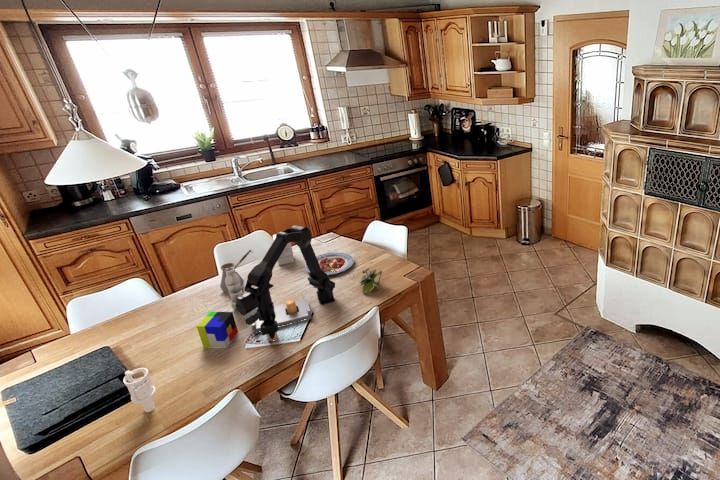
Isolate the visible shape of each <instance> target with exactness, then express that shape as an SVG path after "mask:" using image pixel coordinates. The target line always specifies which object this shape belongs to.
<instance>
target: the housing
mask: <svg viewBox="0 0 720 480" xmlns="http://www.w3.org/2000/svg"><path fill="white" fill-rule="evenodd" d="M301 298H302V299H299V300H294V301H295V303H296V308H297V313H294V314H290V315H288V314H287V313H288V312H287V307H286V302H285V303H282V304H278V305H274V309H275V310H274V312H275V315H276V316H275V321H277V324H278V326H282V325H286V326H288V325H287V324H290V323H294V322H297V323H299V322H298V321H301V320H304V319H309V320H312V319H313V317H312V312H311V309H310V306H309V303H308V300H307V297H306V295H305V294H303V295H302V297H301ZM301 322H302V321H301ZM262 323H264V321H263V320H262V321H259V319H258V320H257V321H256V322H255V323H253V324H251V328H252V330H253V331H252V332H253V334H254V333H255V334H257V333H256V332H259V331H261V327H260V325H261V324H262ZM294 324H295V323H294ZM290 325H291V324H290ZM282 327H283V326H282ZM259 333H260V332H259Z"/></svg>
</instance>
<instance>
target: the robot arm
mask: <svg viewBox="0 0 720 480" xmlns="http://www.w3.org/2000/svg"><path fill="white" fill-rule="evenodd" d="M276 234H277V235H276V238H275V240H274V241H273V242H272V243H271V245H270V247H269V248H268V250H267V252H266V253H265V254H264V257H263V258H262V260H261V261H260V262H259V263H258V264H256V265H255V266H253V268H252V269H251V270H250V272H249V273H248V275H247V279H246V284H245V287H244V289H243V291H244V292H245V293H244V294H243V295H242V296H240V297H238V298H237V302H236V305H235V306H236V309H237V310H236V311H237V312H238V313H239V314H240V315H241V316H243V320H244V322H245V324H246V325H248V326H252V324H253V323H255V322H256V321H257V320H258V319H259V321H262V320H263V321H264V323H262V324H261V325H260V327H261V332H260V333H261V335H262V336H265V335H266V334H269V336H270V338H271V339H273V338H274V336H275V333H276V332H277V333H278V331H280V329H279V327H278V324H277V321H275V318H276V315H275V312H274V310H275V309H274V306H275V304H274V302H273V300H272V296H271V295H272V294H271V291H270V289H271V288H273V287H274V285H275V284H272V283H270V282H271V279H272V277H273V269H274V267H275V266H276V264H277V262H278V259H279V257H280V256H281V254H282V252H283V251H284V249H285V247H286V246H287V244H288V243H290V242H291V243H294V244H295V245H296V246H298V248H299V250H300V252H301V254H302V256H303V259H304V262H305V265H306V264H307V266H308V269H309V271H310V273H309V275H308V277H307V280H308V284H309V285H311V286H312V287H313V288H314V289H317V290H316V296H317V297H316V299H317V300H318V302H319V303H320V305H324V304H329V303H332V302H335V300H336V299H335V298H334V289H335V287H336V282H334V281H332V280H331V279H330V277H329V275H327V274H326V273H325V272H324V271H323V270H322V269H321V267H320V265H319V262H318V260H317V258H316V256H317V255H316V253H315V250H314V249H313V246H312V244H311V243H312V239H313V236H312V233H311V229H310V228H309V227H306V226H302V225H297V224H294V225H292V226H291V227H289V228H285V229H283V230H282V231H279V232H277V233H276ZM252 286H254V287H252ZM255 287H256V288H255ZM266 336H267V335H266Z"/></svg>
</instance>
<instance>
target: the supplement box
mask: <svg viewBox="0 0 720 480" xmlns="http://www.w3.org/2000/svg"><path fill="white" fill-rule="evenodd" d="M276 235H277V233H276V234H273V235H272V240H273V242H274V240H275V238H276ZM277 262H278V263H277V264H278V266H282V265H288V264H291V263H292V264H293V263H295V256H294V251H293V246H292V242H290V243H288V244H287V246H286V247H285V249H284V251H283V252H282V254H281V256H280V257H279V259H278V261H277Z"/></svg>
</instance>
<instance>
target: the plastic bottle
mask: <svg viewBox="0 0 720 480" xmlns="http://www.w3.org/2000/svg"><path fill="white" fill-rule="evenodd" d="M235 270H236V269H235ZM235 270H234V268H233V267H231V268H228V269H226V275H227V276H226V279H225V284H226V286H227V288H228V290H229V296H230V297H229V298H230V305H231V307H232V309H233V310H234V311H237V309H236V306H235V305H236V302H237V298H238V297H240V296H242V295H244V294H243V293H244V292H243V289H242V287H241V283H240V277H239V276H238V275H237V274H235Z"/></svg>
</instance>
